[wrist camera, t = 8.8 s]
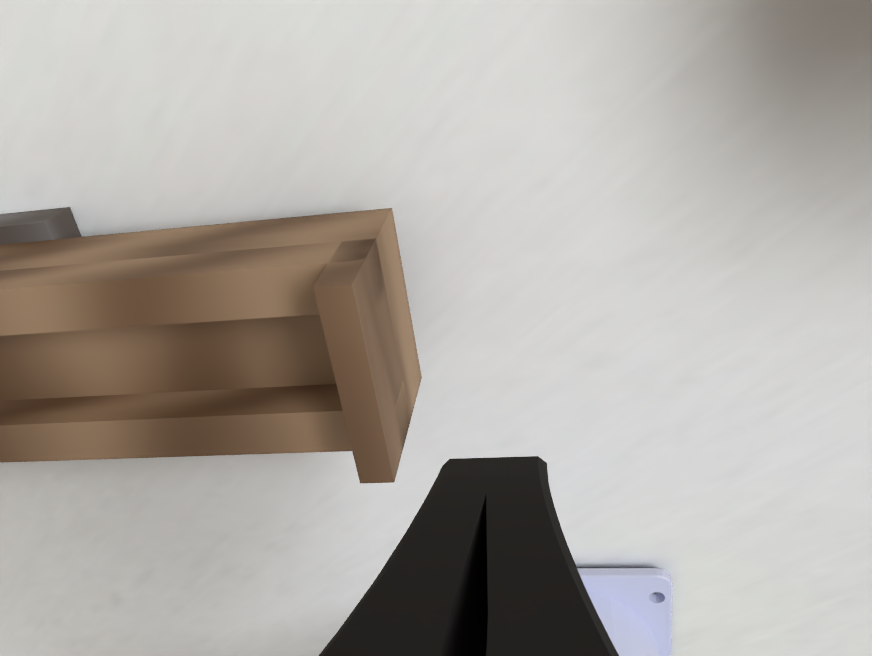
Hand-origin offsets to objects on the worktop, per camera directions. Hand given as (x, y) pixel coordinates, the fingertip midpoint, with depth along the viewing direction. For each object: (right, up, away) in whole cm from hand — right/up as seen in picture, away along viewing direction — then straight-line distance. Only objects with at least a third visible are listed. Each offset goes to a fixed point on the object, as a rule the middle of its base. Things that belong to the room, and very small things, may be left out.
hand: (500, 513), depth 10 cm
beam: (-12, +3, +12) cm, 17 cm away
